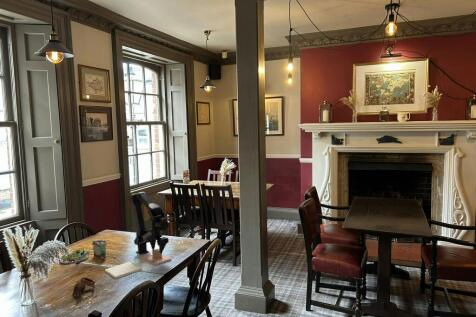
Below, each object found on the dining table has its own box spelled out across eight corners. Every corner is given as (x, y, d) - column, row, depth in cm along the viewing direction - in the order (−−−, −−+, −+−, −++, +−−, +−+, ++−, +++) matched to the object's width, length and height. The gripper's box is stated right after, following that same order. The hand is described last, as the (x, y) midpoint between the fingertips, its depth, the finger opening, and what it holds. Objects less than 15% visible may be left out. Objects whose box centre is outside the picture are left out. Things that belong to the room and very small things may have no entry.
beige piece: (143, 259, 214) (143, 249, 213) (159, 254, 221) (158, 245, 221) (155, 265, 204) (154, 255, 203) (171, 260, 211) (170, 250, 211)
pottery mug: (73, 291, 175) (81, 275, 177) (91, 297, 176) (98, 281, 178) (67, 295, 163) (76, 278, 165) (86, 302, 165) (94, 285, 167)
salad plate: (91, 262, 213) (91, 254, 212) (59, 268, 205) (59, 260, 204) (89, 252, 230) (89, 245, 229) (59, 257, 222) (59, 250, 221)
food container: (111, 258, 218) (110, 242, 217) (101, 260, 213) (100, 245, 212) (102, 253, 226) (101, 238, 225) (93, 256, 222) (92, 241, 221)
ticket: (105, 271, 197) (104, 269, 197) (131, 263, 208) (130, 261, 208) (115, 278, 187) (115, 276, 187) (142, 269, 198) (142, 267, 198)
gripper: (136, 227, 212) (137, 251, 213) (152, 233, 198) (153, 259, 200) (152, 223, 219) (153, 247, 221) (168, 228, 206) (169, 254, 207)
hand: (157, 251), depth 212 cm, fingers open, 9 cm apart
